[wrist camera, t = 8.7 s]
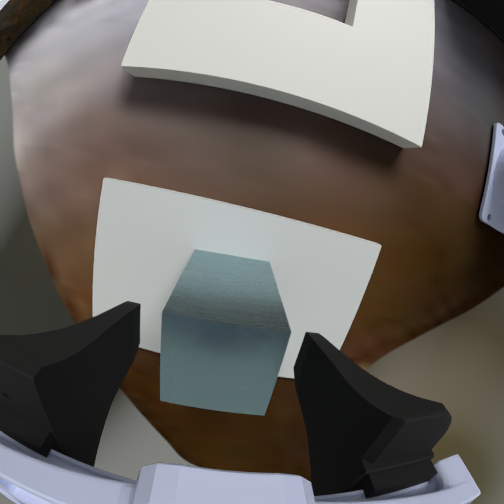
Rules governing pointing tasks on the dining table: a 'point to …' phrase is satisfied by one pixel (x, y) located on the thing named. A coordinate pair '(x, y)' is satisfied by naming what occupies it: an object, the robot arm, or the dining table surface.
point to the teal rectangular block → (223, 335)
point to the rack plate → (300, 57)
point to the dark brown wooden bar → (18, 20)
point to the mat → (231, 243)
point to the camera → (487, 13)
